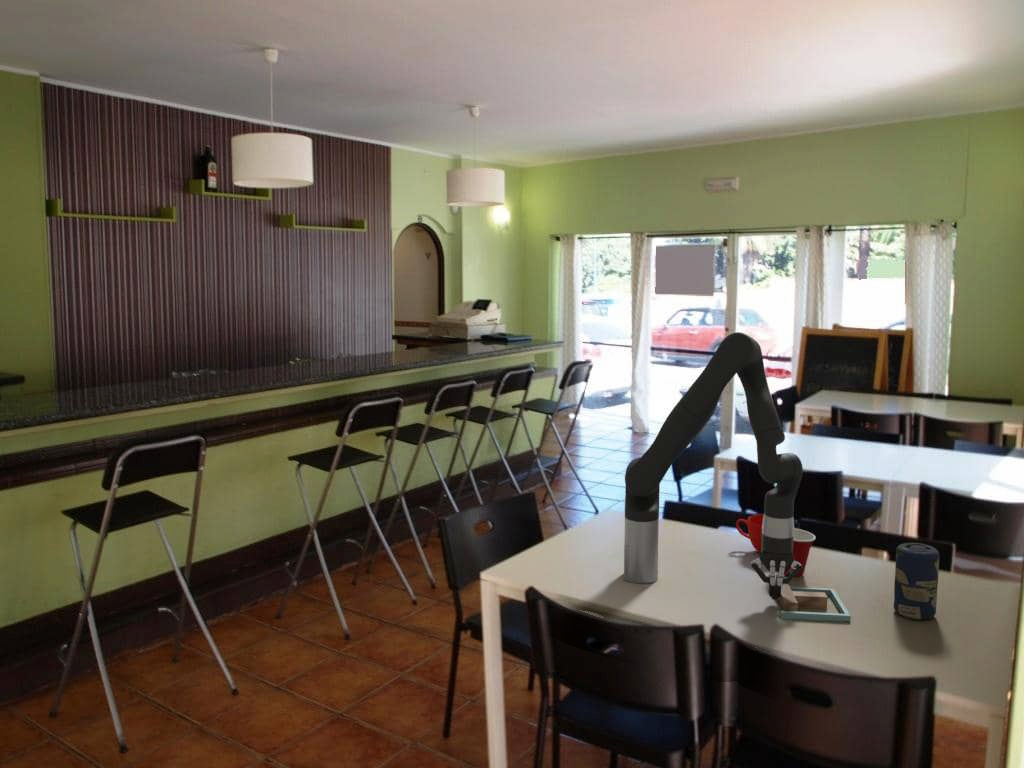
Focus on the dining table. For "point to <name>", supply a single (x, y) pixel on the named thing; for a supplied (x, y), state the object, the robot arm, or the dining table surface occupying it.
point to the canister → (916, 580)
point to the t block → (801, 599)
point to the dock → (814, 615)
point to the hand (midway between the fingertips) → (774, 598)
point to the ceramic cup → (753, 530)
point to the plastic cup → (801, 548)
